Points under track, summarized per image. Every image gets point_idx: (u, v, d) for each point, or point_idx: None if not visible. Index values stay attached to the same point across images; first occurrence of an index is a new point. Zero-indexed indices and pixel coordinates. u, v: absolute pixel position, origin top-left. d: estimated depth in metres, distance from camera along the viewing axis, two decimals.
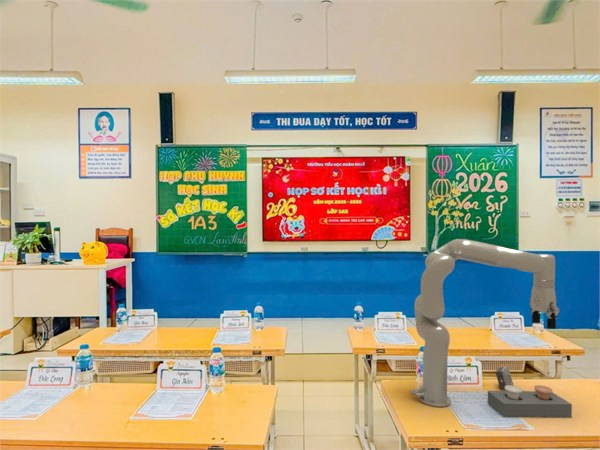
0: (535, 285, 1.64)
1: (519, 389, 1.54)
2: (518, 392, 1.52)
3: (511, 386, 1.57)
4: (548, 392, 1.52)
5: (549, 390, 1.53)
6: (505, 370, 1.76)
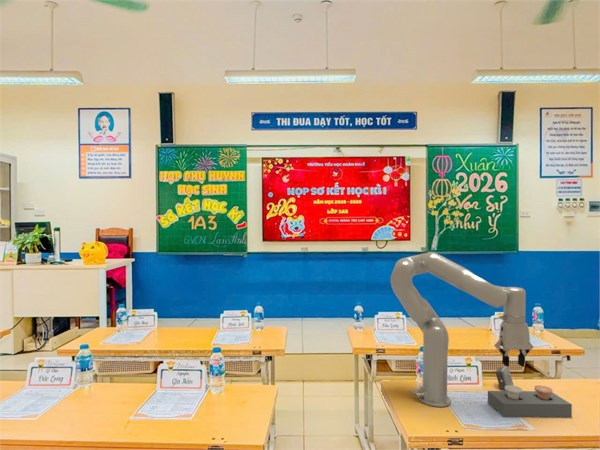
0: (520, 322, 1.52)
1: (519, 389, 1.54)
2: (518, 392, 1.52)
3: (511, 386, 1.57)
4: (548, 392, 1.52)
5: (549, 390, 1.53)
6: (505, 370, 1.76)
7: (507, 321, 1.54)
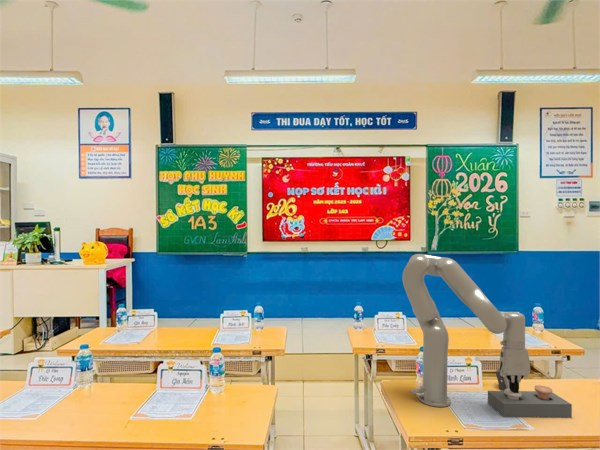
0: (520, 348, 1.51)
1: (519, 392, 1.54)
2: (518, 396, 1.52)
3: None
4: (548, 392, 1.52)
5: (549, 390, 1.53)
6: None
7: (507, 347, 1.54)
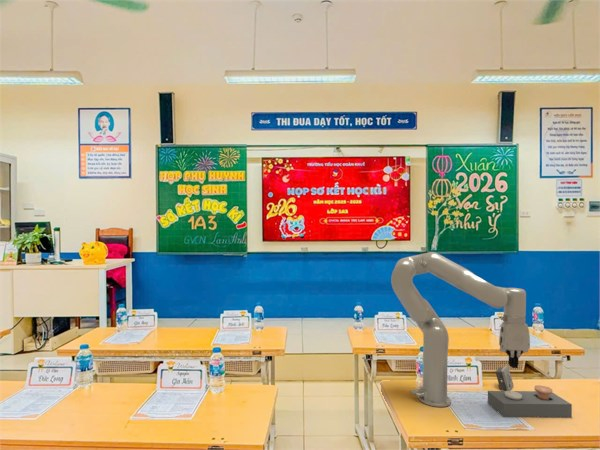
0: (520, 323, 1.52)
1: (519, 395, 1.54)
2: (518, 398, 1.52)
3: (511, 392, 1.57)
4: (548, 392, 1.52)
5: (549, 390, 1.53)
6: (505, 370, 1.76)
7: (507, 322, 1.54)
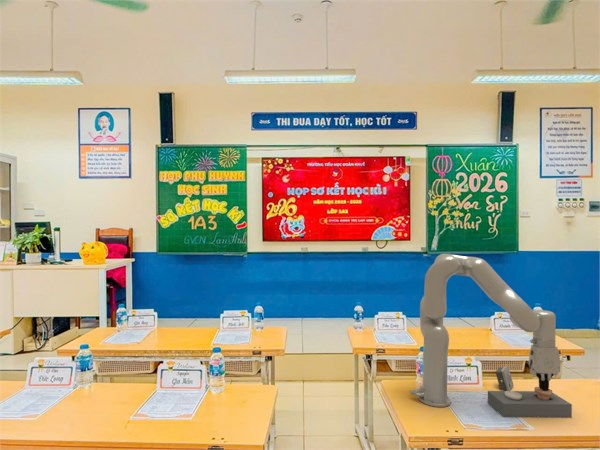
0: (550, 346, 1.52)
1: (519, 395, 1.54)
2: (518, 398, 1.52)
3: (511, 392, 1.57)
4: (548, 393, 1.52)
5: (549, 391, 1.53)
6: (505, 370, 1.76)
7: (537, 345, 1.54)
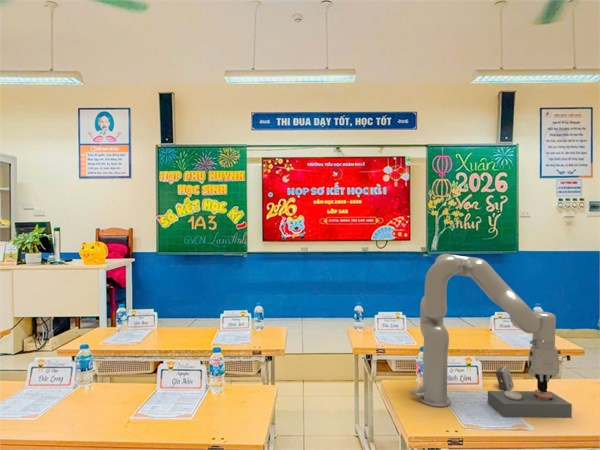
0: (550, 348, 1.52)
1: (519, 395, 1.54)
2: (518, 398, 1.52)
3: (511, 392, 1.57)
4: (548, 396, 1.52)
5: (549, 394, 1.53)
6: (505, 370, 1.76)
7: (537, 346, 1.54)
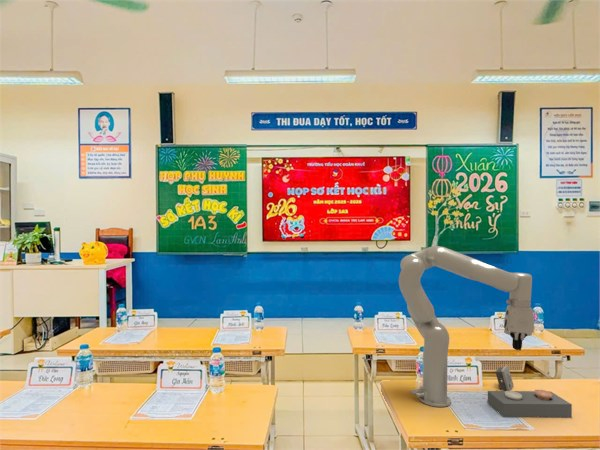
0: (525, 307, 1.56)
1: (519, 395, 1.54)
2: (518, 398, 1.52)
3: (511, 392, 1.57)
4: (548, 396, 1.52)
5: (549, 394, 1.53)
6: (505, 370, 1.76)
7: (513, 305, 1.58)
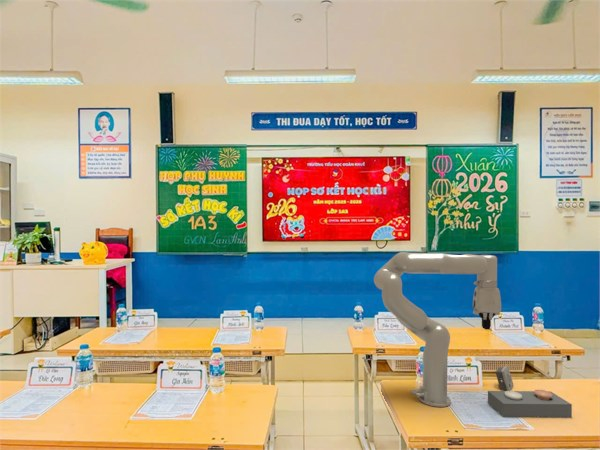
0: (491, 287, 1.62)
1: (519, 395, 1.54)
2: (518, 398, 1.52)
3: (511, 392, 1.57)
4: (548, 396, 1.52)
5: (549, 394, 1.53)
6: (505, 370, 1.76)
7: (480, 286, 1.64)
